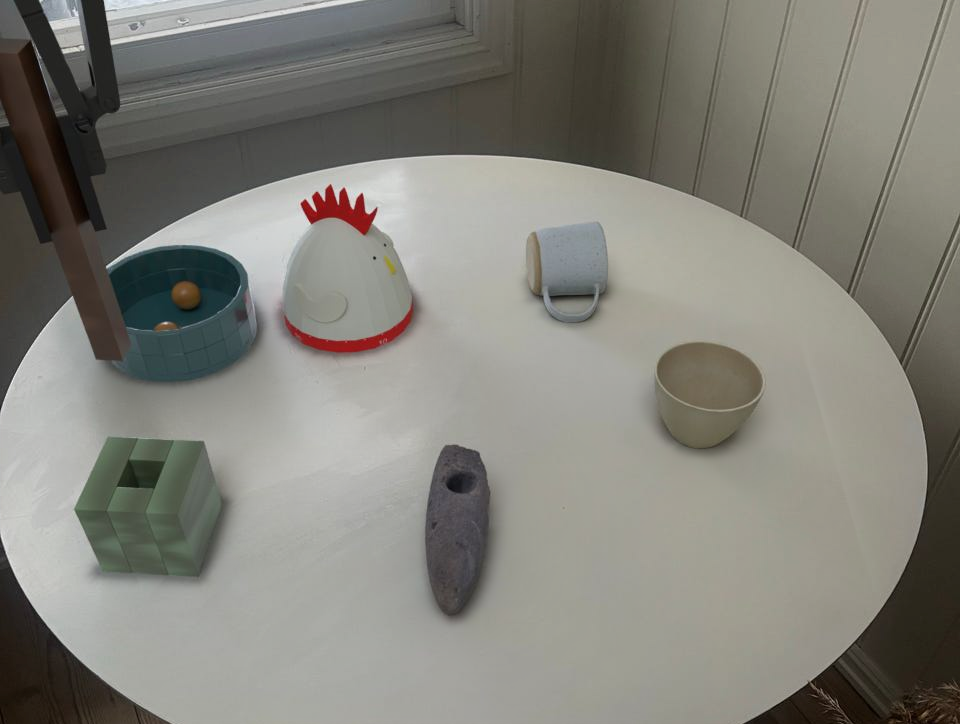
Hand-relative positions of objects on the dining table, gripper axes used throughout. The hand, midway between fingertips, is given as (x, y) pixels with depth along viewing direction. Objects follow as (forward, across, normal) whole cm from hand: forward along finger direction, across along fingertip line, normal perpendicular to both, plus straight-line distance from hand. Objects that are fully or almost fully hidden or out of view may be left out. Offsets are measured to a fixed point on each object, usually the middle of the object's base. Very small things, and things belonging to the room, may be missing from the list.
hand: (70, 225), depth 60 cm
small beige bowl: (+29, +48, -12) cm, 57 cm away
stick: (+11, 0, 0) cm, 11 cm away
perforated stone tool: (+29, +20, -16) cm, 38 cm away
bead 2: (+26, +9, +27) cm, 39 cm away
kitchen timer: (+29, +24, +20) cm, 43 cm away
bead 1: (+26, +6, +21) cm, 34 cm away
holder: (+28, -1, -3) cm, 28 cm away
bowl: (+28, +7, +24) cm, 38 cm away
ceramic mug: (+29, +48, +12) cm, 57 cm away
